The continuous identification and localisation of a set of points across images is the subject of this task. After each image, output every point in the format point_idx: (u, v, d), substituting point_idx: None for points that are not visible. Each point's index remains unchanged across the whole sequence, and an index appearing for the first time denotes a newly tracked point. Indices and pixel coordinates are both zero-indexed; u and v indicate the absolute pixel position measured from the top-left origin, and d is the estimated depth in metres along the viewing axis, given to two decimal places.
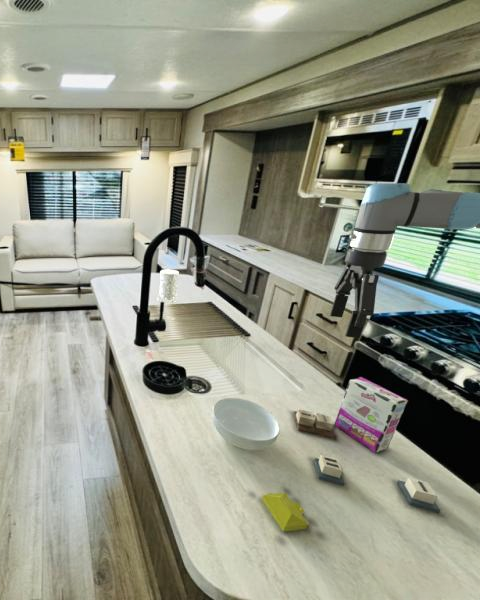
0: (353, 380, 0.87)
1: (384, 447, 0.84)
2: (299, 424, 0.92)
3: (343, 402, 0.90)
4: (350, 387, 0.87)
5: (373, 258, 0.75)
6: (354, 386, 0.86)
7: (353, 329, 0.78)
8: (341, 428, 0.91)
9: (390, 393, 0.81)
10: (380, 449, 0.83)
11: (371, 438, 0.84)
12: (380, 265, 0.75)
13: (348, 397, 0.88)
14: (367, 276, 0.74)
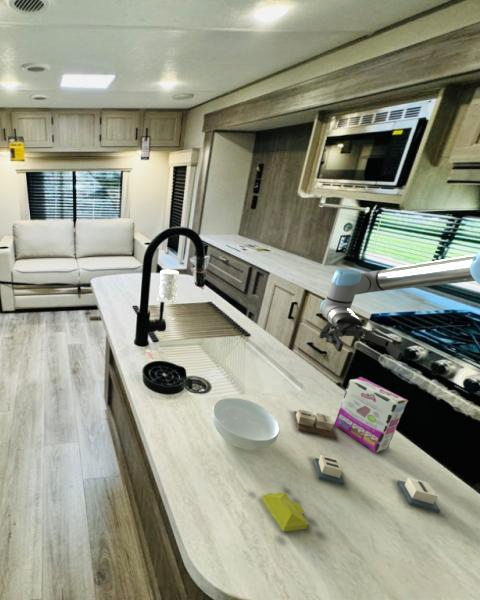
0: (353, 380, 0.87)
1: (384, 447, 0.84)
2: (299, 424, 0.92)
3: (343, 402, 0.90)
4: (350, 387, 0.87)
5: (333, 321, 1.08)
6: (354, 386, 0.86)
7: (336, 345, 0.94)
8: (341, 428, 0.91)
9: (390, 393, 0.81)
10: (380, 449, 0.83)
11: (371, 438, 0.84)
12: (339, 318, 1.05)
13: (348, 397, 0.88)
14: None
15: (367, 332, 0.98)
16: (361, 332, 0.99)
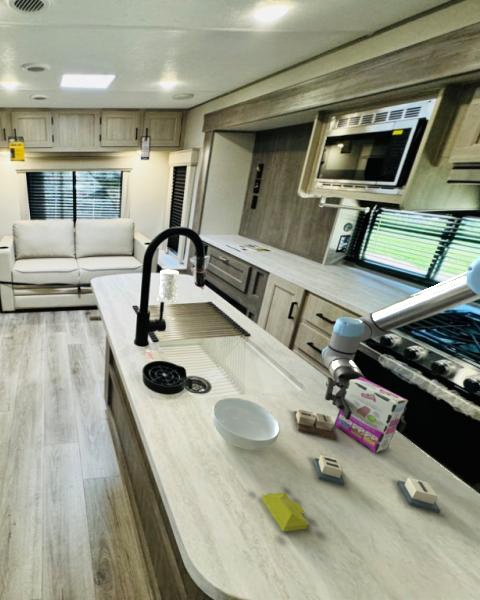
0: (353, 380, 0.87)
1: (384, 447, 0.84)
2: (299, 424, 0.92)
3: None
4: (350, 387, 0.87)
5: (334, 374, 1.01)
6: (354, 386, 0.86)
7: (344, 411, 0.86)
8: (341, 428, 0.91)
9: (390, 393, 0.81)
10: (380, 449, 0.83)
11: (371, 438, 0.84)
12: (341, 373, 0.99)
13: (348, 397, 0.88)
14: (326, 383, 0.99)
15: None
16: None
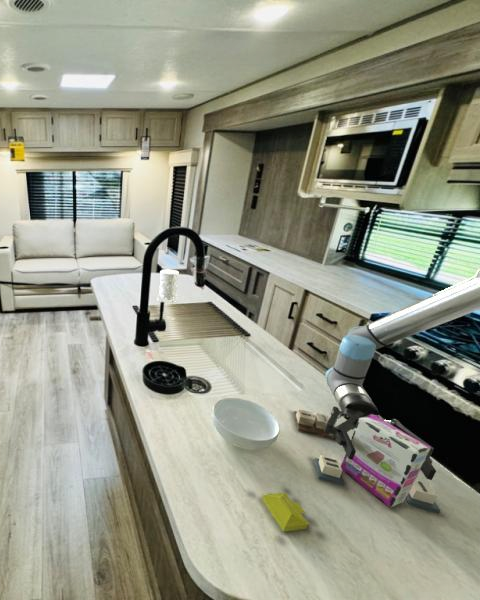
0: (363, 419, 0.73)
1: (401, 500, 0.70)
2: (299, 424, 0.92)
3: None
4: (360, 427, 0.74)
5: (341, 403, 0.87)
6: (365, 427, 0.73)
7: (346, 448, 0.74)
8: (349, 474, 0.77)
9: (408, 437, 0.68)
10: (396, 503, 0.70)
11: (386, 490, 0.70)
12: (349, 402, 0.84)
13: (357, 439, 0.74)
14: (331, 413, 0.85)
15: None
16: None
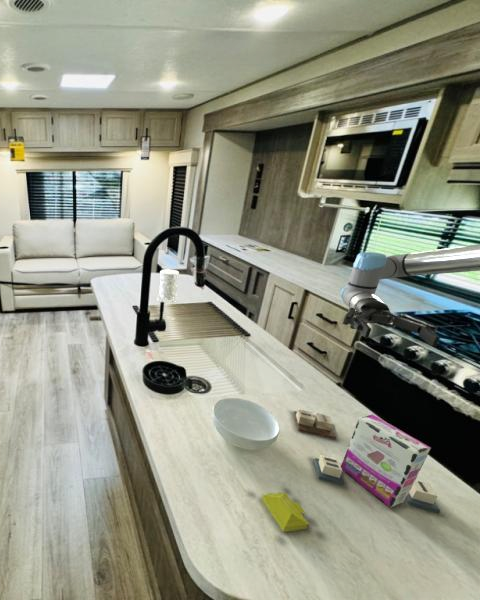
0: (363, 419, 0.73)
1: (401, 500, 0.70)
2: (299, 424, 0.92)
3: (351, 443, 0.76)
4: (360, 427, 0.74)
5: (356, 307, 0.99)
6: (364, 427, 0.73)
7: (362, 330, 0.86)
8: (349, 474, 0.77)
9: (408, 437, 0.68)
10: (396, 503, 0.70)
11: (386, 490, 0.70)
12: (363, 303, 0.97)
13: (357, 439, 0.74)
14: None
15: (396, 317, 0.90)
16: (389, 318, 0.91)
